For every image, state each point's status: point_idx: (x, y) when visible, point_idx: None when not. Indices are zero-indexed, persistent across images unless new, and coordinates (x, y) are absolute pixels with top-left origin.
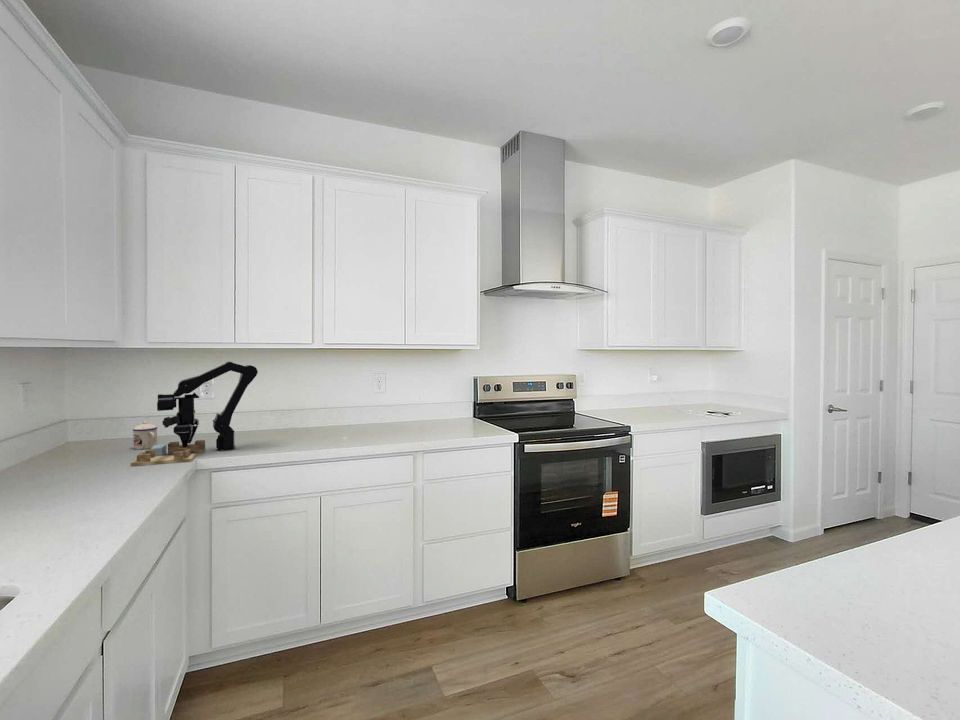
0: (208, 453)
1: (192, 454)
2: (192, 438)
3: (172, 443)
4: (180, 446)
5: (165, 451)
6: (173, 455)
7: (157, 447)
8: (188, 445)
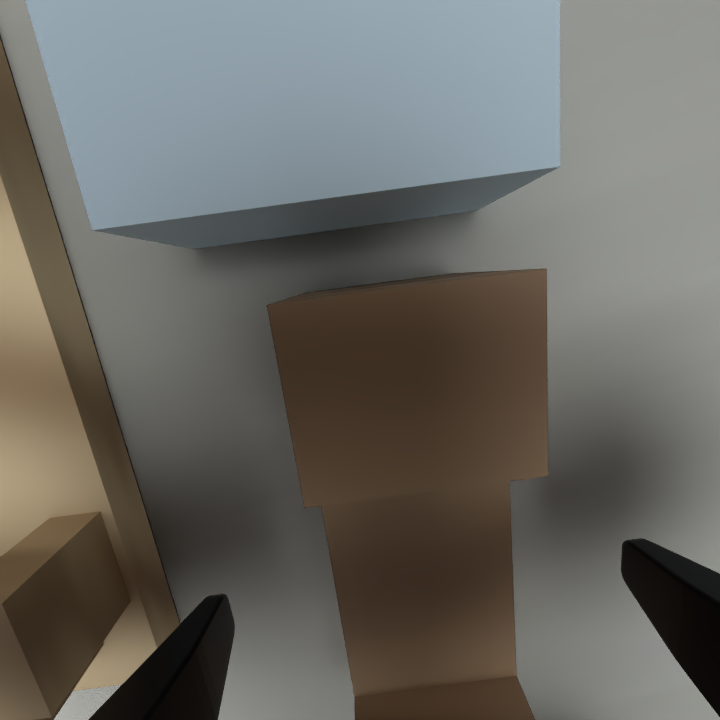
0: (316, 711)
1: (106, 664)
2: (707, 700)
3: (327, 403)
4: (350, 506)
5: (419, 212)
6: (62, 458)
7: (173, 76)
8: (411, 604)
